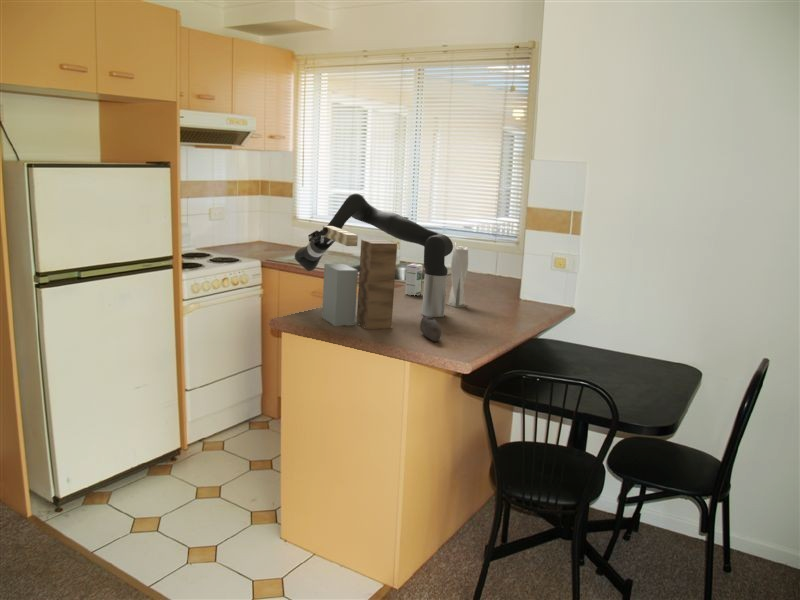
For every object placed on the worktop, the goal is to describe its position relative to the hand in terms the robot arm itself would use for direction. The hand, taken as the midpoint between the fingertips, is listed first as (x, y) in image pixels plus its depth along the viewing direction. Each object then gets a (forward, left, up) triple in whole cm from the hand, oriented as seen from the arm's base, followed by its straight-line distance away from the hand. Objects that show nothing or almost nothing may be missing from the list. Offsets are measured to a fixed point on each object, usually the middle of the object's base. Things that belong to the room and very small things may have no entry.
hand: (332, 229), depth 260 cm
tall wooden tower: (-19, +11, -34) cm, 41 cm away
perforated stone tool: (-41, +24, -34) cm, 59 cm away
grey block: (-5, +9, -34) cm, 36 cm away
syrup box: (-31, -55, -34) cm, 72 cm away
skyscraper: (-51, -39, -34) cm, 73 cm away
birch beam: (-4, +7, -3) cm, 8 cm away
